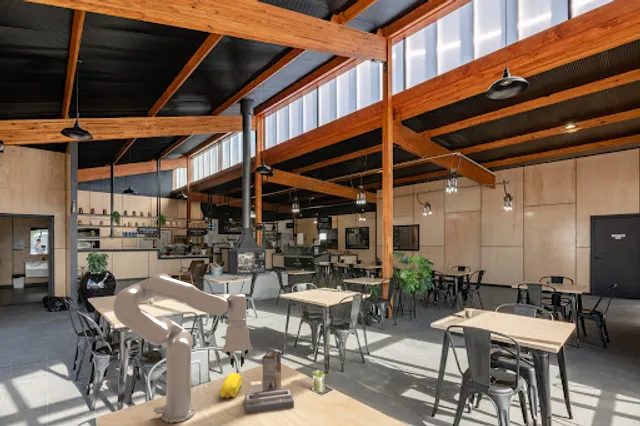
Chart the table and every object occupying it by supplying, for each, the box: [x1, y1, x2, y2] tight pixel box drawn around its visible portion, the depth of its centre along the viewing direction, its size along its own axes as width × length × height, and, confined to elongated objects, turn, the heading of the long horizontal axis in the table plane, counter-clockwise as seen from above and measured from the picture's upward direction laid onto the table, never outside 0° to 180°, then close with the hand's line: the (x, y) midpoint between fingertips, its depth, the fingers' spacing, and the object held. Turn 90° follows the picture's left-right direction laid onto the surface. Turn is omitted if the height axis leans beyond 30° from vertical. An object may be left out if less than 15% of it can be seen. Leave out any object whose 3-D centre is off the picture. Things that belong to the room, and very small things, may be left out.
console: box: [244, 387, 295, 414], centre depth 152 cm, size 20×13×3 cm, turn 104°
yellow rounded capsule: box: [219, 372, 243, 399], centre depth 164 cm, size 18×7×8 cm
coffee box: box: [262, 350, 282, 391], centre depth 167 cm, size 9×6×16 cm
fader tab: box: [250, 380, 263, 399], centre depth 150 cm, size 4×3×6 cm
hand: (237, 365), depth 149 cm, fingers open, 3 cm apart
